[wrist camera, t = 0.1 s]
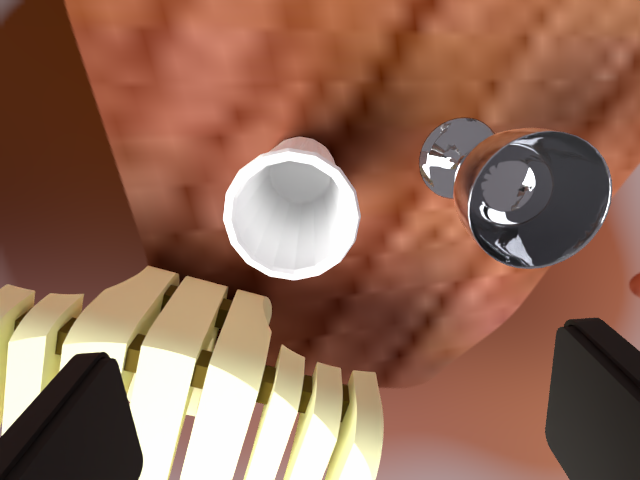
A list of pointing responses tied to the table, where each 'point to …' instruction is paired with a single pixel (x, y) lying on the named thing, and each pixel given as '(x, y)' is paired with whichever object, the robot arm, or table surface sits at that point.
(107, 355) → the robot arm
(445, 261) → the table surface
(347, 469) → the slatted curved stool
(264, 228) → the cup
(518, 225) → the wine glass
